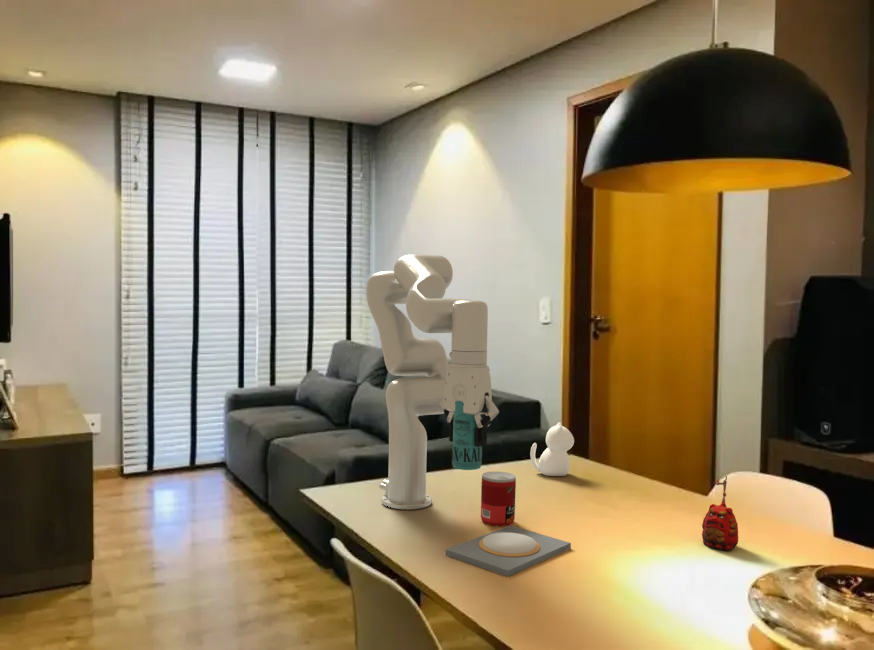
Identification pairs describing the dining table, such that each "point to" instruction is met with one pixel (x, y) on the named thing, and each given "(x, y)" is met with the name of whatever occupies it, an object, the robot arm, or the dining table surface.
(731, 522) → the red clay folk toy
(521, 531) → the board
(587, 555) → the dining table surface
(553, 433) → the cat figurine
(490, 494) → the canned food
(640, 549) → the dining table surface
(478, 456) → the beverage bottle
